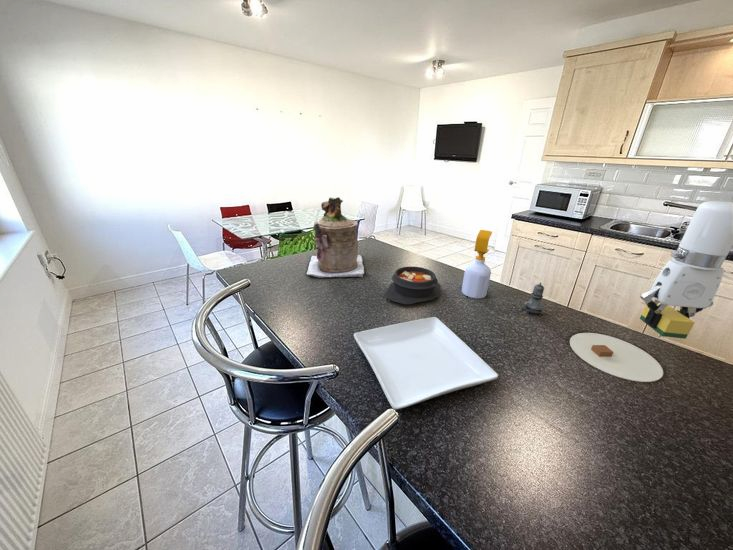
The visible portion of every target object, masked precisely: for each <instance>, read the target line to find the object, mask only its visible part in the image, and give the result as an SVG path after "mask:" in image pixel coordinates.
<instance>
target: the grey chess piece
mask: <svg viewBox="0 0 733 550" xmlns="http://www.w3.org/2000/svg"><path fill="white" fill-rule="evenodd" d="M544 290H545V287H544V286H543V284H542V282H539V283H537V284H535V285H534V286H533V290H532V292H531V293H530V295H531V296H530V299H529V300H526V301H524V303H523V304H524V310H522V314H523V315H539V314H540V313H541V312H542V311H543V310H544V308H545V306H544V305H543V304H542V302H541V301H542V298H544V296H543V293H544Z"/></svg>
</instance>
